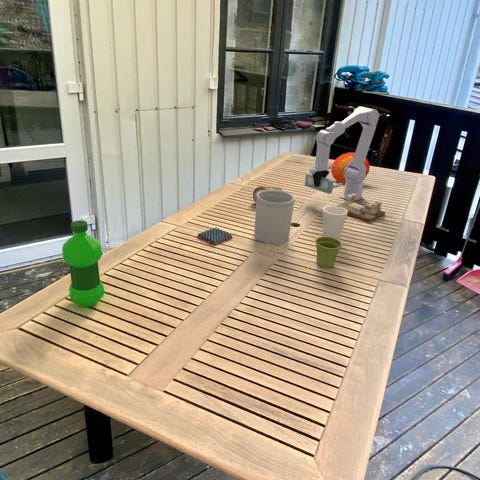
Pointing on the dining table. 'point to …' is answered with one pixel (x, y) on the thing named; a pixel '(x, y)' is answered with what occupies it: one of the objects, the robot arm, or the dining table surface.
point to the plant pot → (327, 250)
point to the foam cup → (333, 221)
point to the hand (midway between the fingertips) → (318, 186)
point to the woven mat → (214, 236)
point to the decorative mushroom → (344, 166)
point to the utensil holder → (273, 216)
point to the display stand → (362, 209)
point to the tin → (261, 190)
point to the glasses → (321, 184)
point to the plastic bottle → (83, 265)
